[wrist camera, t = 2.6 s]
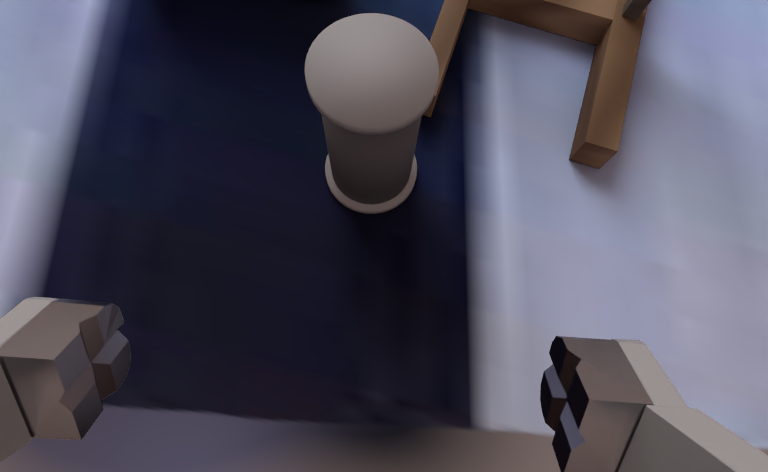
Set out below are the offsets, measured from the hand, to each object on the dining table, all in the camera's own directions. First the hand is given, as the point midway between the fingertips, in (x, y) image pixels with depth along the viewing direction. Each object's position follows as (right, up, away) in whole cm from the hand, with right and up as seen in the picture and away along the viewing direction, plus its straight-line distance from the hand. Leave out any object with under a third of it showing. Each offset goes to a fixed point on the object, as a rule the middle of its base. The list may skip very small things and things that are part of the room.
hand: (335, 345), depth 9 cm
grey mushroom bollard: (0, +6, +22) cm, 23 cm away
